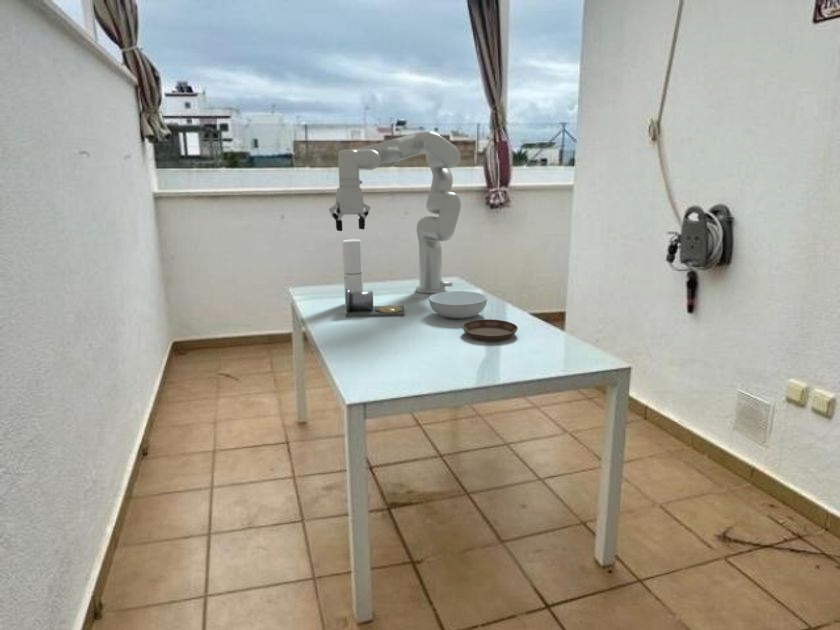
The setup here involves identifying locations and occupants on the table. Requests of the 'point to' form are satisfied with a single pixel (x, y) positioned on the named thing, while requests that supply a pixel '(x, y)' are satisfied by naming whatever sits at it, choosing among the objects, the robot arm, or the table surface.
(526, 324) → the table surface
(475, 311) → the serving bowl
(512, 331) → the plant saucer
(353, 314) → the pipe fitting board
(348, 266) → the cylindrical container
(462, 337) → the table surface
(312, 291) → the table surface
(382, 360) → the table surface
